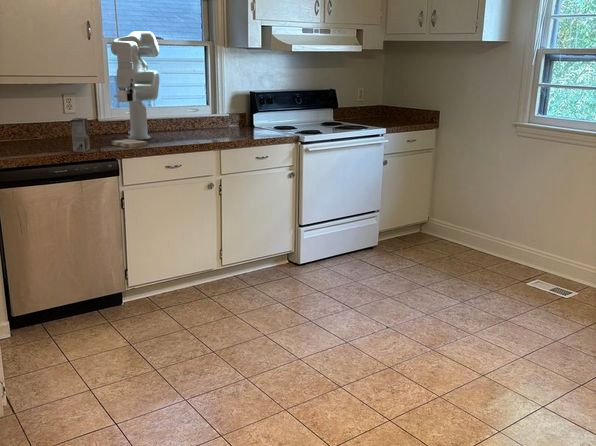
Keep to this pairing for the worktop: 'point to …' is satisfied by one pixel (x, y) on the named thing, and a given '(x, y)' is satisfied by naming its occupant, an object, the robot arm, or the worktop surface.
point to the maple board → (129, 143)
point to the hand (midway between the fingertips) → (127, 100)
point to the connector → (124, 96)
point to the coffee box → (80, 135)
